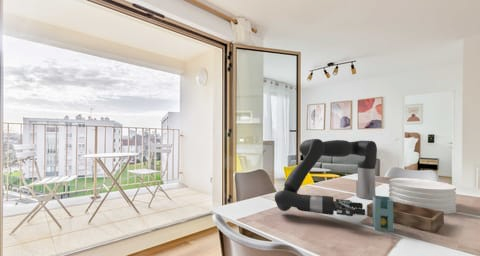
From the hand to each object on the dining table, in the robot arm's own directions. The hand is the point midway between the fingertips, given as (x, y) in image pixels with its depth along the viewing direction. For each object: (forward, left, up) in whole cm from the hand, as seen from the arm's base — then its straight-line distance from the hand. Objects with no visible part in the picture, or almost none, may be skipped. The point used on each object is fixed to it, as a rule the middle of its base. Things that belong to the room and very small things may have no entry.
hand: (363, 208), depth 96 cm
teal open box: (+6, +3, -7) cm, 9 cm away
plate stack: (+6, +54, -7) cm, 55 cm away
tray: (+8, +21, -7) cm, 24 cm away
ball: (+6, +3, -4) cm, 8 cm away
